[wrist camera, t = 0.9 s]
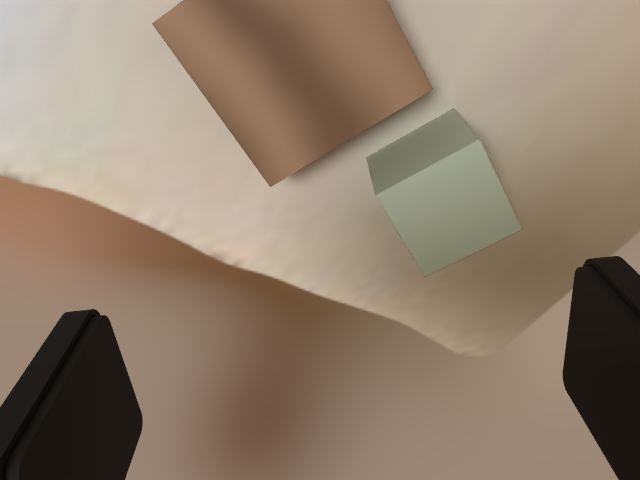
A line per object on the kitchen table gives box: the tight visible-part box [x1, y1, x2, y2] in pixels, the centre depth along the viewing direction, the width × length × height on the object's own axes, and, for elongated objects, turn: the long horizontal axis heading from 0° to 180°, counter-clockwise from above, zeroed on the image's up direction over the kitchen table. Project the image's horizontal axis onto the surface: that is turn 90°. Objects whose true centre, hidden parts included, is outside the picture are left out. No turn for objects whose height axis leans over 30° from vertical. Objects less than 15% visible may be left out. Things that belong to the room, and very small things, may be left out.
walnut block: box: [152, 0, 433, 187], centre depth 30 cm, size 10×10×5 cm
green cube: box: [366, 109, 522, 277], centre depth 33 cm, size 6×6×6 cm
